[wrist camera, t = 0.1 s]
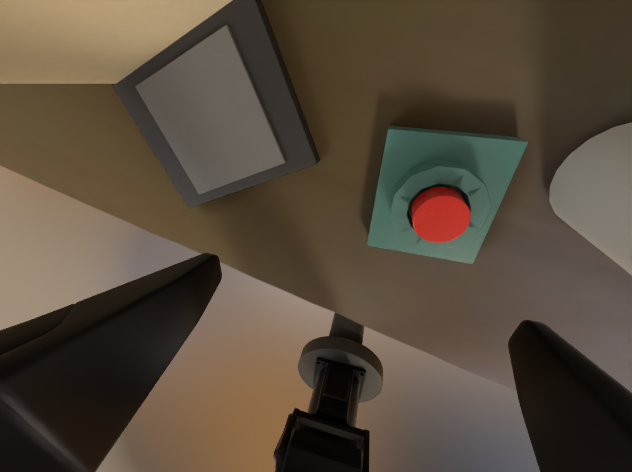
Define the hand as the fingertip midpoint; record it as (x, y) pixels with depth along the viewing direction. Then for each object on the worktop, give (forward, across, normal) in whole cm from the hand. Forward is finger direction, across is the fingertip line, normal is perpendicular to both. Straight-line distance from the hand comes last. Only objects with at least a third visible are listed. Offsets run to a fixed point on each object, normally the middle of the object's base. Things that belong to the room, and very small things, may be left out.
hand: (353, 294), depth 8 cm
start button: (+13, -5, +2) cm, 14 cm away
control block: (+16, -5, +2) cm, 17 cm away
